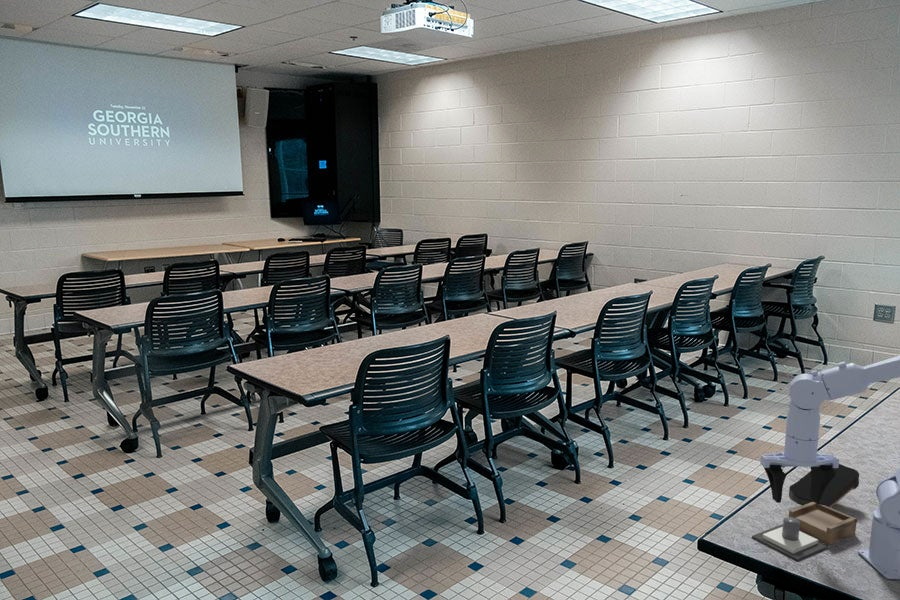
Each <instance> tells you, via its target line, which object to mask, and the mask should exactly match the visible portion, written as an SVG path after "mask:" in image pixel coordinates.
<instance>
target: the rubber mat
mask: <svg viewBox="0 0 900 600" xmlns="http://www.w3.org/2000/svg"><path fill="white" fill-rule="evenodd" d="M780 527H783V523H782V524H779V525H777V526H774V527H772V528H769V529H767V530H763V531H761V532H759V533H758V532H757V533H756V534H753V535H751V539H754V541H755V540H756V541H757V542H759V543H761V544H764V545H765V546H768V547H769V548H771V549H772V550H775V551H778V552H779V553H781V554H783V555H786V556H787V557H789V558H791V559H793V560H795V561H797V562H799V561H801V560H803V559H805V558H808V557H810V556H813V555H815V554H817V553H819V552H822V551H824V550H826V549H829V547H830V545H828V544H825V543H823V542H821V541H819V540H818V544H815V545H813V546H810V547H808V548H806V549H803V550H801V551H798V552H796V553H794V554H793V553H791V552H789V551H787V550H785V549H783V548H781V547H779V546H777V545H775V544H773V543H771V542H770V541H768V540H766V539H764V538H762V537H763V534H765V533H767V532H770V531H773V530H775V529H778V528H780Z"/></svg>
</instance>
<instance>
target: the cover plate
mask: <svg viewBox="0 0 900 600" xmlns="http://www.w3.org/2000/svg"><path fill="white" fill-rule="evenodd" d="M782 524H783V527H780V528H778V529H775V530H773V531H770V532H767V533H765V534H763V537H762V538H764V539H766V540H768V541H770V542H771V543H773V544H775V545H777V546H779V547H781V548H783V549H785V550H787V551H789V552H791V553H793V554H794V553H796V552H798V551H801V550H803V549H806V548H808V547H810V546H813V545H815V544H818V541H819V540H818V539H815V538H813V537H811V536H809V535H807V534H805V533H803V532H801V531H799V530H800V521H799V520H797V519H795V518H792V517H789V516H787V517H783V520H782Z"/></svg>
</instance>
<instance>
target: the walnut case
mask: <svg viewBox="0 0 900 600" xmlns="http://www.w3.org/2000/svg"><path fill="white" fill-rule="evenodd" d="M788 517H792V518H795V519H797V520H799V521H800V530H799V531H801V532H803V533H805V534H807V535H809V536H811V537H813V538H815V539H818V541H820V542H822V543H824V544H826V545H828V546H831V545H833V544H836V543H837V542H840V541H842V540H843V541H844V540H845V539H847V538H850V537H852V536H855V535H856V529H857V522H858V518H857V517H855V516H851V515H849V514H846V513H845V512H842V511H839V510H837V509H834V508H833V507H831V508H830V507H828V506H825V505H822V504H817V503H815V502H811V503H808V504H805V505H803V506H802V505H799V506H797V507H795V508H792V509H789V510H788Z"/></svg>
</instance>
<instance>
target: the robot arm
mask: <svg viewBox="0 0 900 600" xmlns="http://www.w3.org/2000/svg"><path fill="white" fill-rule="evenodd" d="M837 365H838V366H836V367H831V368H828V369H827V368H826V369H824V370H819V371H818V370H817V369H815V370H811V374H810V373H802V374H797V375H796V376H795V377H794V378H792V380H791V381H790V384H789V385H788V387H789V391H788V392H789V395H788V396H789V398H790V400H789V402H788V410H787V415H786V417H787V418H786V424H785V425H786V428H785V438H784V448H783V449H784V450H783V451H781V452H776V453H770V454H760V465H761V466H762V467H763V469H764V470H765V474H766V475H767V479H768V481H769V485H770V486H769V487H770V490H771V496H772V500H773V501H774V502H776V503H778V504H781V502H782V498H783V487H784V484H785V481H786V478H787V474H786V472H784V469H783V468H782V467H785V468H786V467H803V468H806V467H807V468H810V471H811V491H810V497H811V499H812V500H813V501H814V502H815V503H819V502H820V499H821V497H822V494H823V492H824V490H825V488H826V487H827V485H828V484H829V482H830V481H831V480H832V479H833V478H834V477H835V474H836V471H834V470H833V469H832V468H838V466H839V464H840V458H838V457H837V456H836V455H834V454H823V453H822V454H821V453H818V446H819V445H818V444H819V443H818V442H819V433H820V423H821V414H820V407H821V405H822V404H823V402H825V401H828V402H829V401H833V400H838V399H842V398H846V397H850V396H854V395H859V394H862V393H865V392H866V391H867V389H868V387H870V385H871V384H874V383H879V382H884V381H889V380H893V379H899V378H900V355H897V356H894V357H890V358H887V359H885V360H881V361H878V362H875V363H871V364H867V365H865V366H862V365H859V364H857V363H855V362H850V363H846V361H841V362H837ZM875 494H876V497H877V499H878V503H879V505H878V507H877V508H876V509H875V510H873V513H872V520H871V521H872V522H871V527H870V528H871V529H870V530H871V531H870V536H869V537H870V538H869V546H868V549H858V550H857V553H858V554H859V555H860V556H861V557H862V558H864V560H866V561H867V563H869V564H871V566H872V567H874V568H875V570H877V571H878V572H879V573H880V574H881V575H882V576H883V577H884V578H885V579H887V580H900V468H898V469H897V470H895V472H894V473H893V474H891V476H889V477H887V478H884V479H883V480H881V481H880V482H879V483H878V484H877V486H876V489H875Z"/></svg>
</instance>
